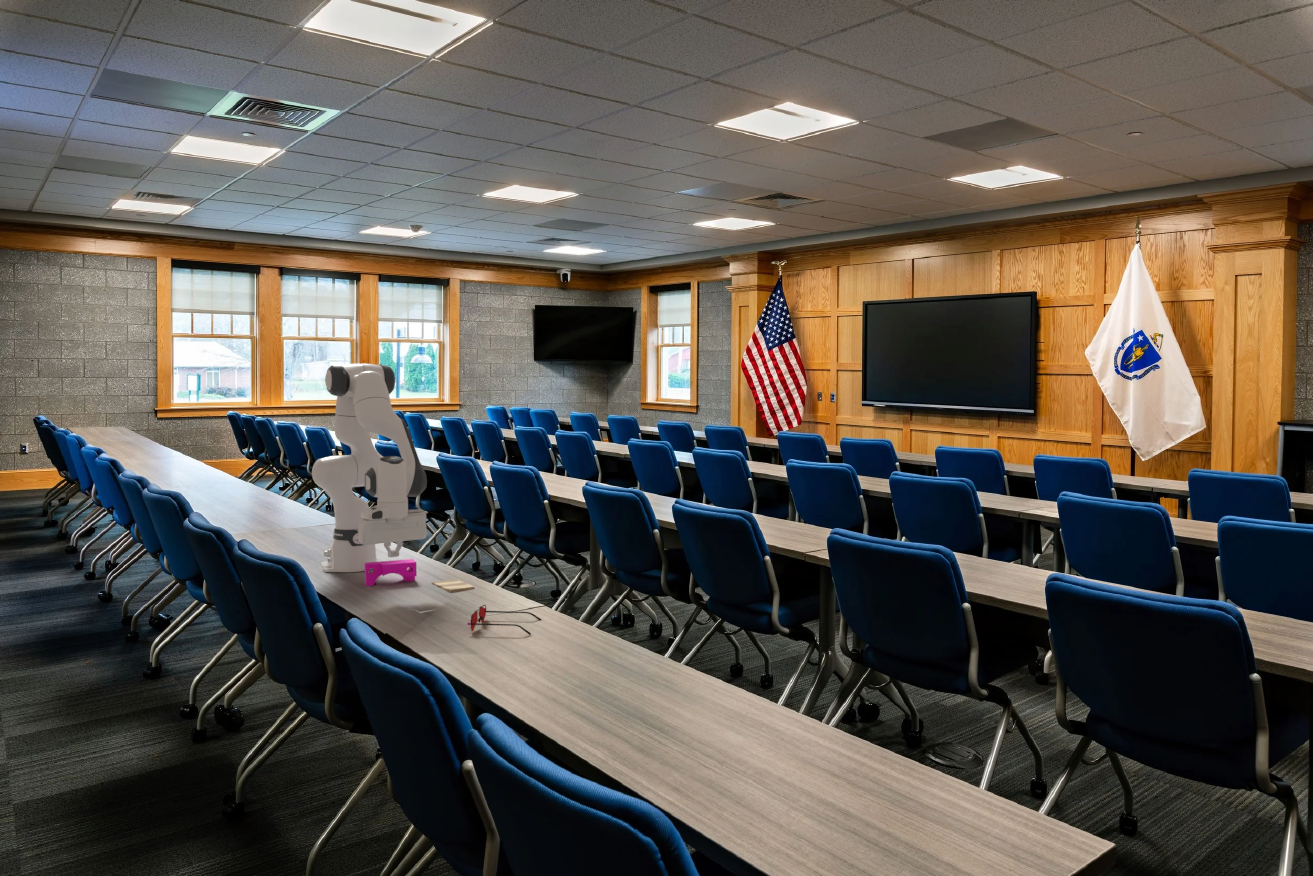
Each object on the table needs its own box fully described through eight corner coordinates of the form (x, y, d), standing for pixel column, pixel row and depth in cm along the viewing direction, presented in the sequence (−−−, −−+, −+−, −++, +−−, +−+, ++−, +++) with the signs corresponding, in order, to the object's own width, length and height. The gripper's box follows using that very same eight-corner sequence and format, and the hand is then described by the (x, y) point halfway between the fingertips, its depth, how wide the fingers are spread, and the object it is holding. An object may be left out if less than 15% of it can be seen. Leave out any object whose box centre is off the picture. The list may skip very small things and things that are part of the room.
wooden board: (431, 586, 282) (431, 582, 282) (455, 582, 287) (455, 579, 287) (450, 593, 271) (450, 590, 271) (474, 590, 276) (474, 586, 276)
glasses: (482, 620, 241) (482, 602, 241) (542, 621, 239) (542, 603, 239) (466, 634, 227) (466, 614, 227) (530, 635, 226) (530, 616, 225)
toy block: (416, 562, 284) (416, 585, 284) (412, 559, 289) (412, 581, 290) (367, 566, 277) (367, 590, 278) (364, 562, 283) (364, 586, 283)
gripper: (421, 507, 275) (422, 551, 276) (355, 512, 263) (356, 558, 264) (430, 509, 270) (430, 554, 271) (362, 514, 258) (363, 562, 259)
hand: (393, 556), depth 267 cm, fingers closed
